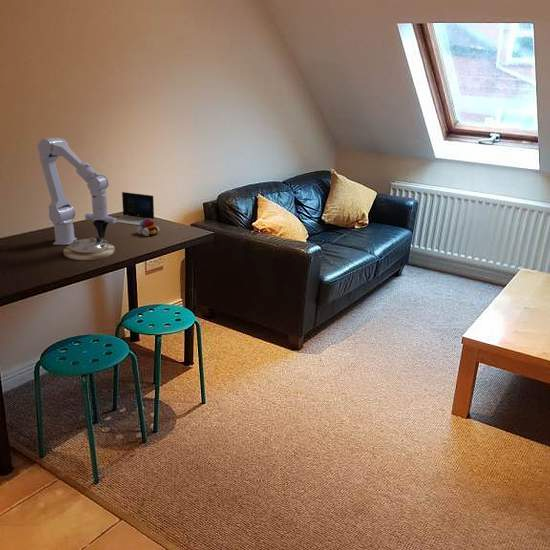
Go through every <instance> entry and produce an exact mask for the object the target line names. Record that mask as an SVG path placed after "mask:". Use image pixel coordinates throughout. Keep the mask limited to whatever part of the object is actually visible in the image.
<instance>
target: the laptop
mask: <svg viewBox="0 0 550 550" xmlns="http://www.w3.org/2000/svg"><path fill="white" fill-rule="evenodd" d="M121 197H122V215H121V216H118V217H115V218H116V223H118V224H119V223H120V224H126V225H135V226H140V222H141V221H144V219H149V220H153V221H154V220H155V211H154V210H155V207H154V206H155V205H154V201H155V200H154V195H150V194H144V193H143V194H142V193H134V192H125V191H122V192H121Z"/></svg>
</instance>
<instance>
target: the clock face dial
mask: <svg viewBox="0 0 550 550" xmlns="http://www.w3.org/2000/svg"><path fill="white" fill-rule="evenodd" d="M108 244H109V241H108V240H107V239H103V238H99V233H98V231H95V237H90V238H83V239H76V240H73V242H72V243H70V245H68V246H70V251H71V252H73V253H77V254H96V253H101V252H104V251H106V250H107V249H108Z"/></svg>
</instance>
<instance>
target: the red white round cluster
mask: <svg viewBox="0 0 550 550" xmlns="http://www.w3.org/2000/svg"><path fill="white" fill-rule="evenodd" d="M154 223H155V222H154V220H153V221H152V220H149V219H147V218H146V219H144V221H141V222H140V225H137V227H136V233H137V234H138V235H143V236H144V237H148V236H150V235H158V234H159V232H160V227H159V226H157V224H154Z"/></svg>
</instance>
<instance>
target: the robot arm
mask: <svg viewBox="0 0 550 550" xmlns="http://www.w3.org/2000/svg"><path fill="white" fill-rule="evenodd" d="M36 147H37V149H38V150H37V151H38V153H39V162H40V164H41V165H40V166H41V168H42V172H43V175H44V178H45V183H46V185H47V189H48V192H49V196H50V199H51V202H50V204H49V205H48V218H49V220H50V221H51V223H52V224H53V227H54V236H55V241H54V242H53V243H52V245H56V246H57V245H59V246H60V245H63V246H64V245H65V246H67V245H68V246H69V245H70V243H72V242H73V240H78V238H77V237H75V228H74V223H73V221H74V218H75V217H76V210H75V208H74V207H73V206H72V203H71V201H70V200H68V199H67V198H66V196H65V193H64V192H65V191H64V189H63V186H62V182H61V178H60V175H59V171H58V168H57V164H56V161H57V159H58V157H62V158H63V159H65V160H66V162H68V163H69V164H71V166H73V167H74V168H75V170H76V171H75V172H76V174H78V176H79V177H80V178H81V179H82V180H83V181H84V182H86V185H87V188H88V190H89V194H90V195H91V204H92V205H91V206H92V213H86V214H84V219H85V220H88V219H89V220H93V222H92V224H93V226H94V228H95V229H96V230H97V231H96V232H98V233H99V238H101V239H104V238H105V235H106V229H107V227H108V226H109V225H108V224H109V223H111V224H116V223H117V222H116V218H117V217H113V216H111V215H108V203H107V188H108V187H109V180H108V178H107V177H106V175H104V174H101V173H99V172H97V171H96V170H95V169H94V168H93V167H92V165H91V164H90V163H88V162H83V161H82V160H81V159H80V158H79V157H78V155H76V153H74V151H73V150H72V149H71V147H69V143H68V142H67V141H66V140H65V139H64V138H63V137H62V136H57V137H51V138H42V139H40V140H39V142H38V144H37V146H36Z"/></svg>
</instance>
